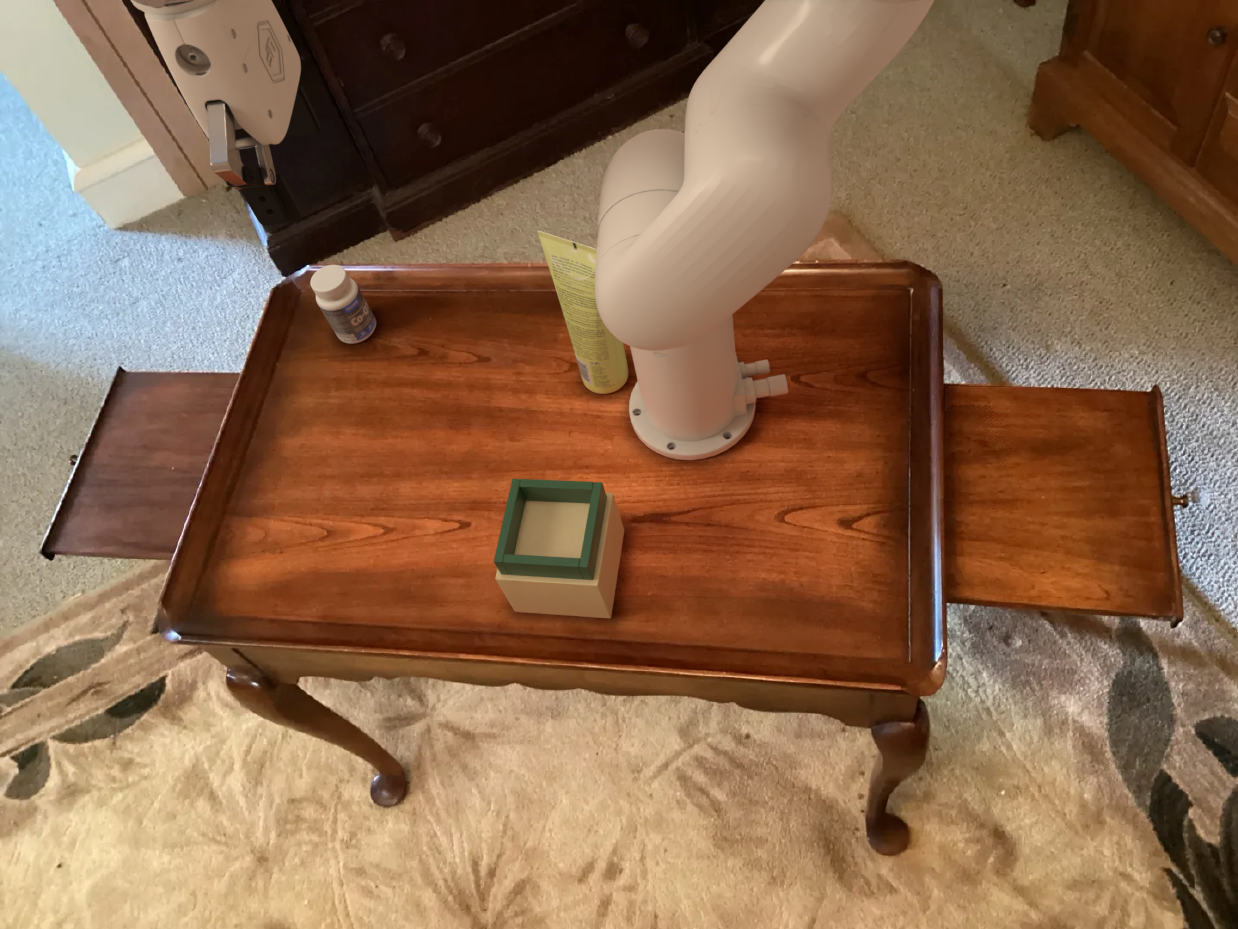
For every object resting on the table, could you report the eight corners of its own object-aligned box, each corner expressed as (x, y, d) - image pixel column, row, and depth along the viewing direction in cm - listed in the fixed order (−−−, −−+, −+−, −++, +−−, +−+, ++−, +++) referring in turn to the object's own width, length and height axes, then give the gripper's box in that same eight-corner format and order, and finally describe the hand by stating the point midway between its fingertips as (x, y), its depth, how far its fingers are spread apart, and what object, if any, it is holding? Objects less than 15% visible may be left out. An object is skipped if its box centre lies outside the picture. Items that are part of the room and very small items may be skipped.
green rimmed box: (624, 530, 90) (608, 477, 82) (611, 619, 86) (592, 572, 78) (532, 525, 92) (508, 473, 84) (514, 612, 88) (486, 566, 80)
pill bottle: (369, 346, 108) (339, 295, 101) (331, 343, 109) (299, 293, 102) (383, 313, 110) (355, 262, 103) (345, 311, 111) (315, 260, 104)
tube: (629, 350, 102) (598, 213, 86) (640, 387, 99) (610, 252, 83) (577, 364, 102) (536, 229, 86) (587, 401, 99) (546, 269, 83)
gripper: (208, 32, 54) (325, 252, 68) (259, -127, 63) (353, 96, 77) (81, 51, 54) (224, 264, 69) (150, -109, 64) (264, 108, 78)
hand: (292, 175), depth 73 cm, fingers open, 9 cm apart
